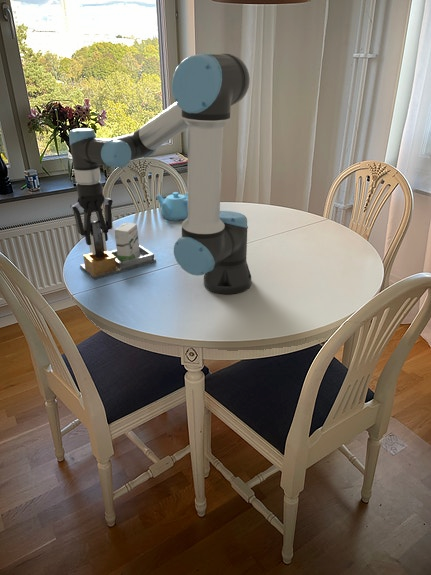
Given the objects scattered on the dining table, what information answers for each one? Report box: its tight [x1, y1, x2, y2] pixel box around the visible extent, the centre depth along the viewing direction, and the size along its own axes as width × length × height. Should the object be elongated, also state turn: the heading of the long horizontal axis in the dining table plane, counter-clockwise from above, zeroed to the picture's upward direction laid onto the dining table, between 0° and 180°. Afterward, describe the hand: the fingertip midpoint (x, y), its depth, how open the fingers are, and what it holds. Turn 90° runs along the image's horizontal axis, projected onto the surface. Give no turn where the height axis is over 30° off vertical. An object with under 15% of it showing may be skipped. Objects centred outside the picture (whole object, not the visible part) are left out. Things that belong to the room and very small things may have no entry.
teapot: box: [156, 191, 188, 221], centre depth 197 cm, size 15×15×11 cm
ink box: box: [114, 222, 140, 262], centre depth 154 cm, size 9×5×12 cm, turn 166°
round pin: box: [90, 219, 104, 258], centre depth 146 cm, size 3×3×12 cm
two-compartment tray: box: [79, 244, 157, 281], centre depth 154 cm, size 12×23×5 cm, turn 126°
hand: (98, 251), depth 148 cm, fingers closed on round pin, 3 cm apart
